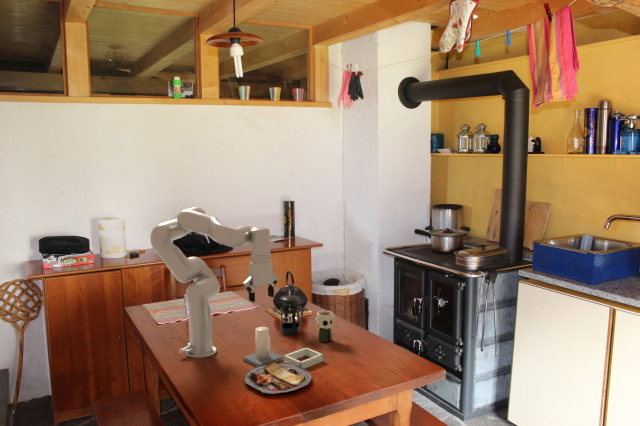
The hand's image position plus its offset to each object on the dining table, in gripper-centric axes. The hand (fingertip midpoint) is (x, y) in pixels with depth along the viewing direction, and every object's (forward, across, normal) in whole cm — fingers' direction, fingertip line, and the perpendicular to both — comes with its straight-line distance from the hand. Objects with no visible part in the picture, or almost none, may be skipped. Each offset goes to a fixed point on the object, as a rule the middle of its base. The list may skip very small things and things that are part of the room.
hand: (261, 298), depth 225 cm
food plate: (+27, +8, +20) cm, 34 cm away
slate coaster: (+26, 0, 0) cm, 26 cm away
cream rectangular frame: (+26, -11, +13) cm, 31 cm away
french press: (+26, -30, -17) cm, 43 cm away
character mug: (+26, -34, +2) cm, 43 cm away
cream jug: (+25, 0, +1) cm, 25 cm away
